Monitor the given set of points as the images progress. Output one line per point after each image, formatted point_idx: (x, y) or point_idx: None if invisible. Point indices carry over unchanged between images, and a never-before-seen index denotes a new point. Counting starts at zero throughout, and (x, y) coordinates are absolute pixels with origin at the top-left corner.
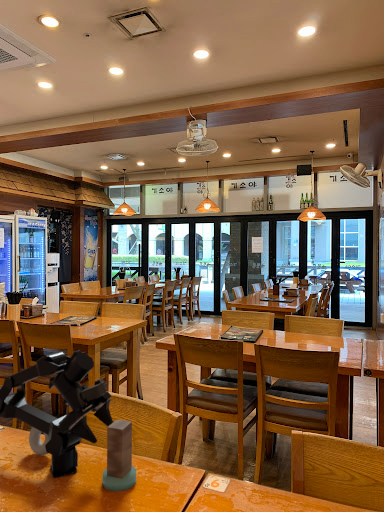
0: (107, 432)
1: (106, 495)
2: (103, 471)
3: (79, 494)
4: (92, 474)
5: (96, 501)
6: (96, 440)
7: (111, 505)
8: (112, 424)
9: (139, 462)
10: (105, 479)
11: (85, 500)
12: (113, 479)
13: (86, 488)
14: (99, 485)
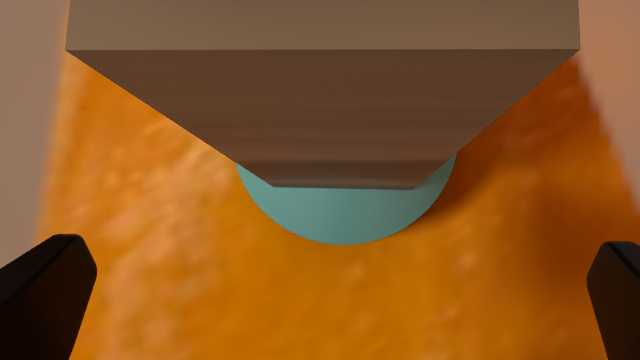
0: (527, 86)
1: (495, 146)
2: (371, 240)
3: (545, 306)
4: (326, 348)
5: (566, 171)
6: (637, 245)
7: (565, 74)
8: (380, 9)
9: (116, 126)
10: (446, 181)
11: (582, 237)
12: None
13: (476, 299)
14: (420, 238)
